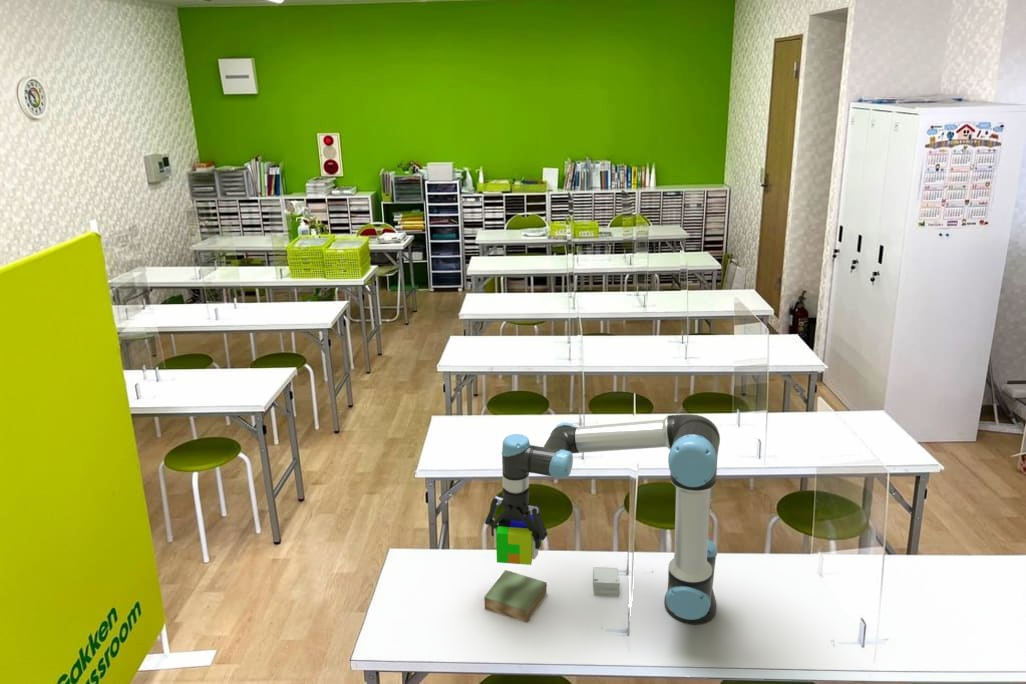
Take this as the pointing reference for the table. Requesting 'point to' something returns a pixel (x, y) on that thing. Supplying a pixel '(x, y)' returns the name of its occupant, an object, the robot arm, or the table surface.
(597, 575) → the small box
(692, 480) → the robot arm
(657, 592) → the table surface
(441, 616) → the table surface
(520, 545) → the puzzle toy
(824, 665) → the table surface
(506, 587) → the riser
